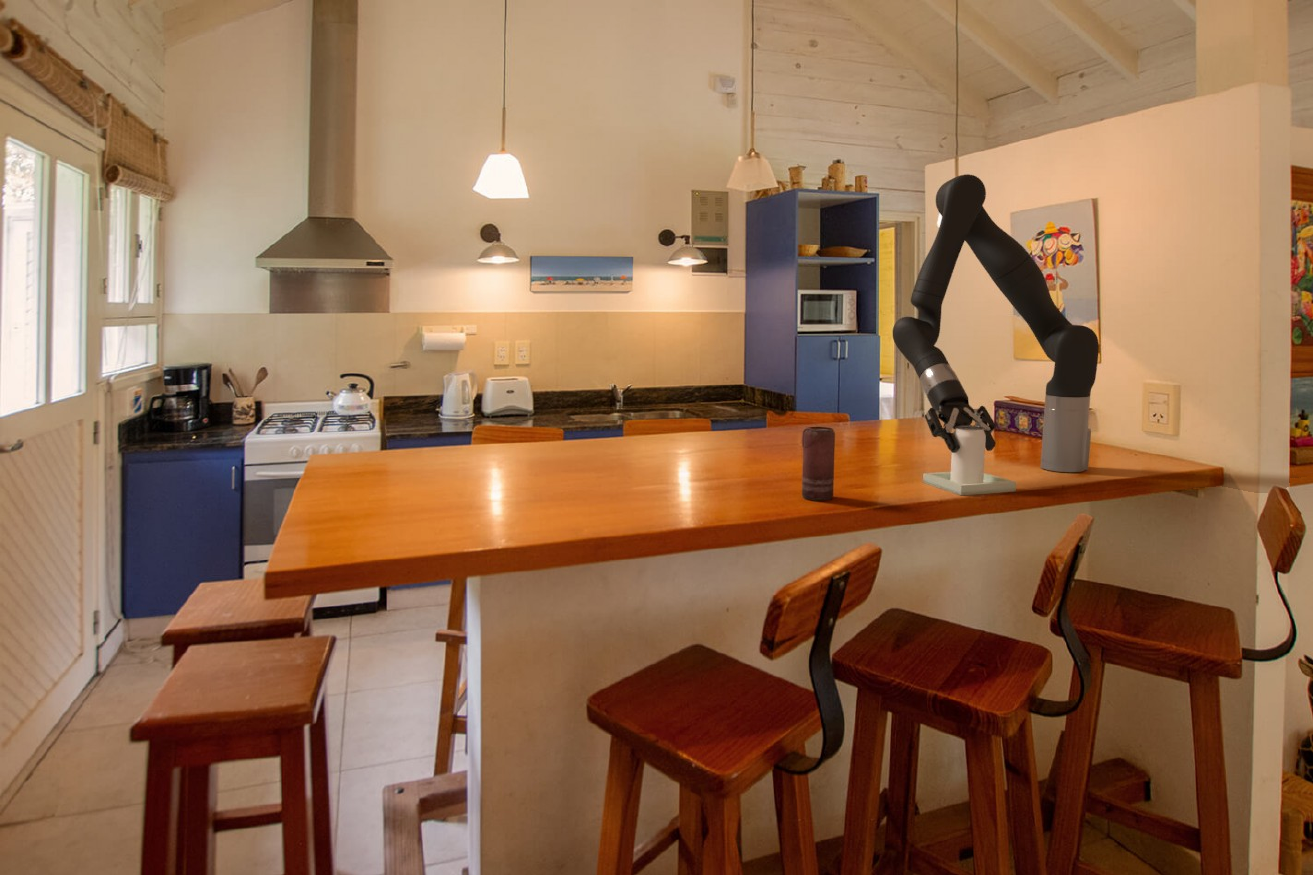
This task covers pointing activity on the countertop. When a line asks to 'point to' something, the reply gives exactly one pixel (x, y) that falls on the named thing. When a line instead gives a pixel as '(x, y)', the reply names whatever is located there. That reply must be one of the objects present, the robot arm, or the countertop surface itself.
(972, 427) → the can
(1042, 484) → the countertop surface
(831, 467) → the can
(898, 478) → the countertop surface
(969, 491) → the tray
